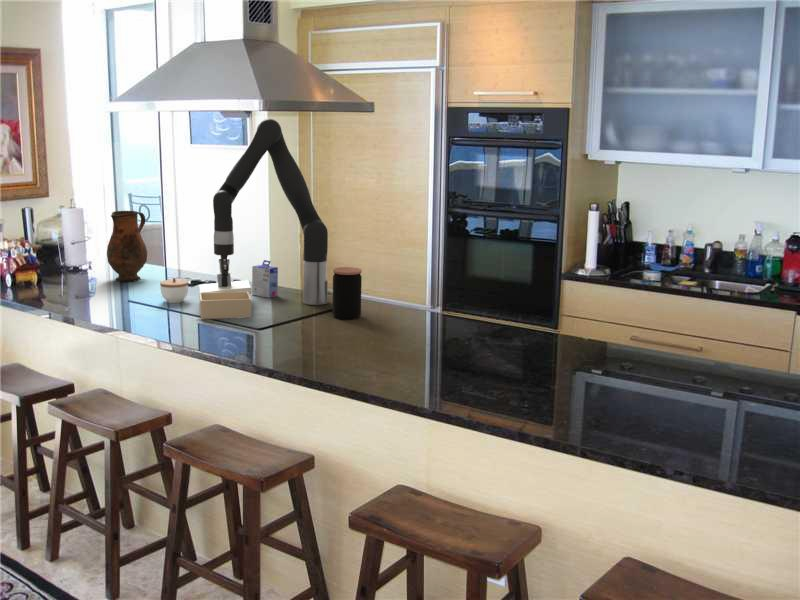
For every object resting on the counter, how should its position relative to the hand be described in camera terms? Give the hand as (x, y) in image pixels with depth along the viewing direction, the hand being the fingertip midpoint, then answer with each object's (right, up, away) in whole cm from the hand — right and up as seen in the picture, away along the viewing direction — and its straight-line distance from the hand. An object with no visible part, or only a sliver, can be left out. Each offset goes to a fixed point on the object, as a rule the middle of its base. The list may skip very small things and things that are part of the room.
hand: (224, 285), depth 317 cm
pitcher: (-50, +4, +42) cm, 66 cm away
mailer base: (+4, -11, -15) cm, 19 cm away
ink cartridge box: (+13, -4, +17) cm, 22 cm away
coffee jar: (+49, -12, -13) cm, 52 cm away
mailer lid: (0, -3, +1) cm, 3 cm away
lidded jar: (-20, -6, +3) cm, 22 cm away
